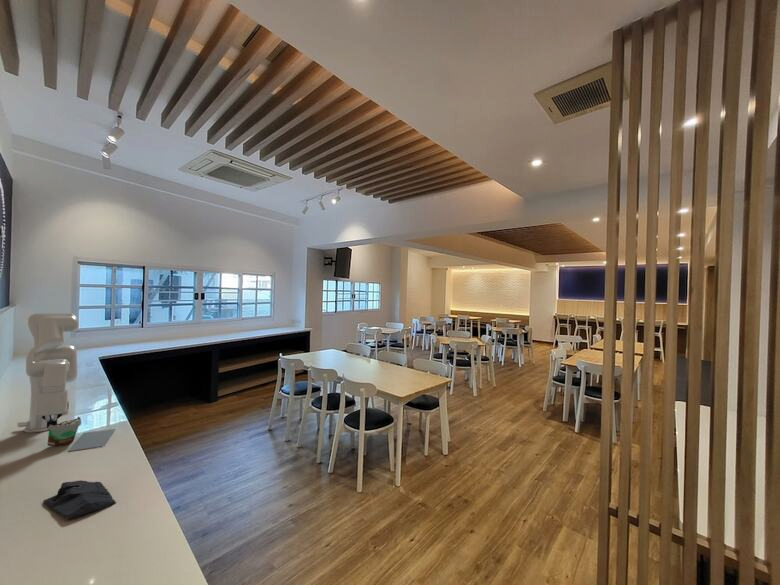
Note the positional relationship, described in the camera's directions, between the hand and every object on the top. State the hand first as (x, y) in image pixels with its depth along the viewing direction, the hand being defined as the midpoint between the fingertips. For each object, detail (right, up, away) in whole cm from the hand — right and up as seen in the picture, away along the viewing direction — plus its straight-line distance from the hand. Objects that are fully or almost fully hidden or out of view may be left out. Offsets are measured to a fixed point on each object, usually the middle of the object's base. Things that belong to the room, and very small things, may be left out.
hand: (51, 428), depth 150 cm
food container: (+4, -8, +2) cm, 9 cm away
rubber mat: (+12, -8, +7) cm, 17 cm away
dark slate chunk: (+50, -9, -39) cm, 64 cm away
